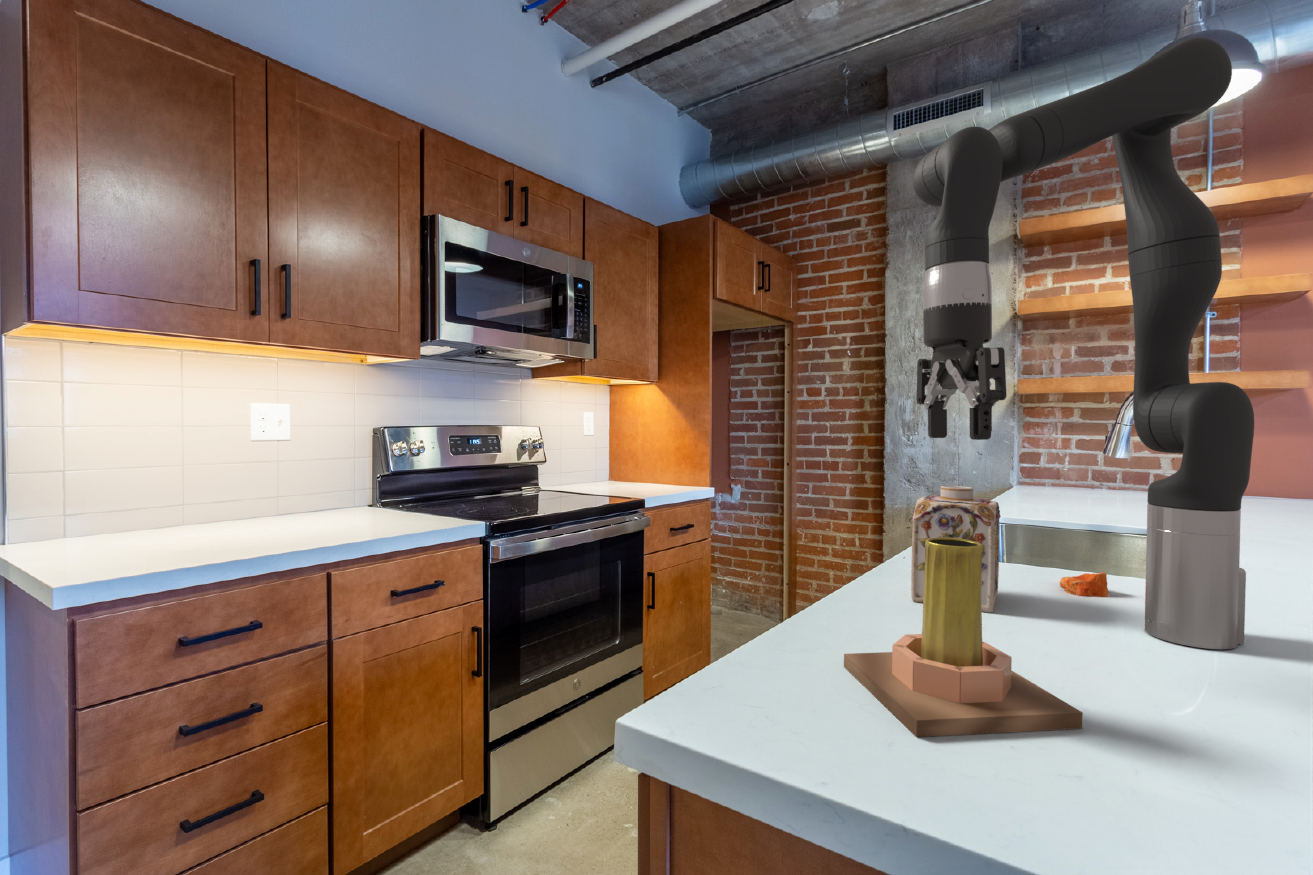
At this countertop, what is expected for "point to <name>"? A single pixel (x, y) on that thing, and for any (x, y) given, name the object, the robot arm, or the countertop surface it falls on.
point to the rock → (1086, 585)
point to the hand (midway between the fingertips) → (957, 438)
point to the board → (961, 704)
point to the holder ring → (952, 673)
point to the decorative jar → (957, 535)
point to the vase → (952, 602)
